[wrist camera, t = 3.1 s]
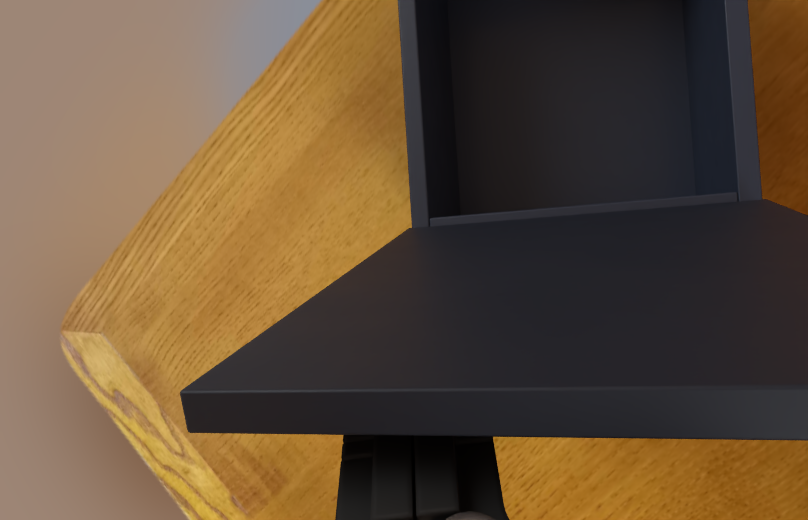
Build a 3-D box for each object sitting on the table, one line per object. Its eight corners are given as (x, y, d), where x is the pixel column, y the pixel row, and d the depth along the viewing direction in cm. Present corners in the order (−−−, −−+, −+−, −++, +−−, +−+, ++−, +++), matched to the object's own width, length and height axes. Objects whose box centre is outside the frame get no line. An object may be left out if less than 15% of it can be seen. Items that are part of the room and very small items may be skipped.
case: (434, -27, 35) (390, -118, 27) (690, -76, 32) (733, -200, 23) (451, 243, 35) (412, 237, 26) (711, 224, 31) (763, 210, 23)
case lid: (178, 391, 10) (186, 434, 11) (1231, 382, 7) (1222, 448, 7) (408, 228, 26) (410, 246, 26) (767, 198, 22) (767, 220, 22)
